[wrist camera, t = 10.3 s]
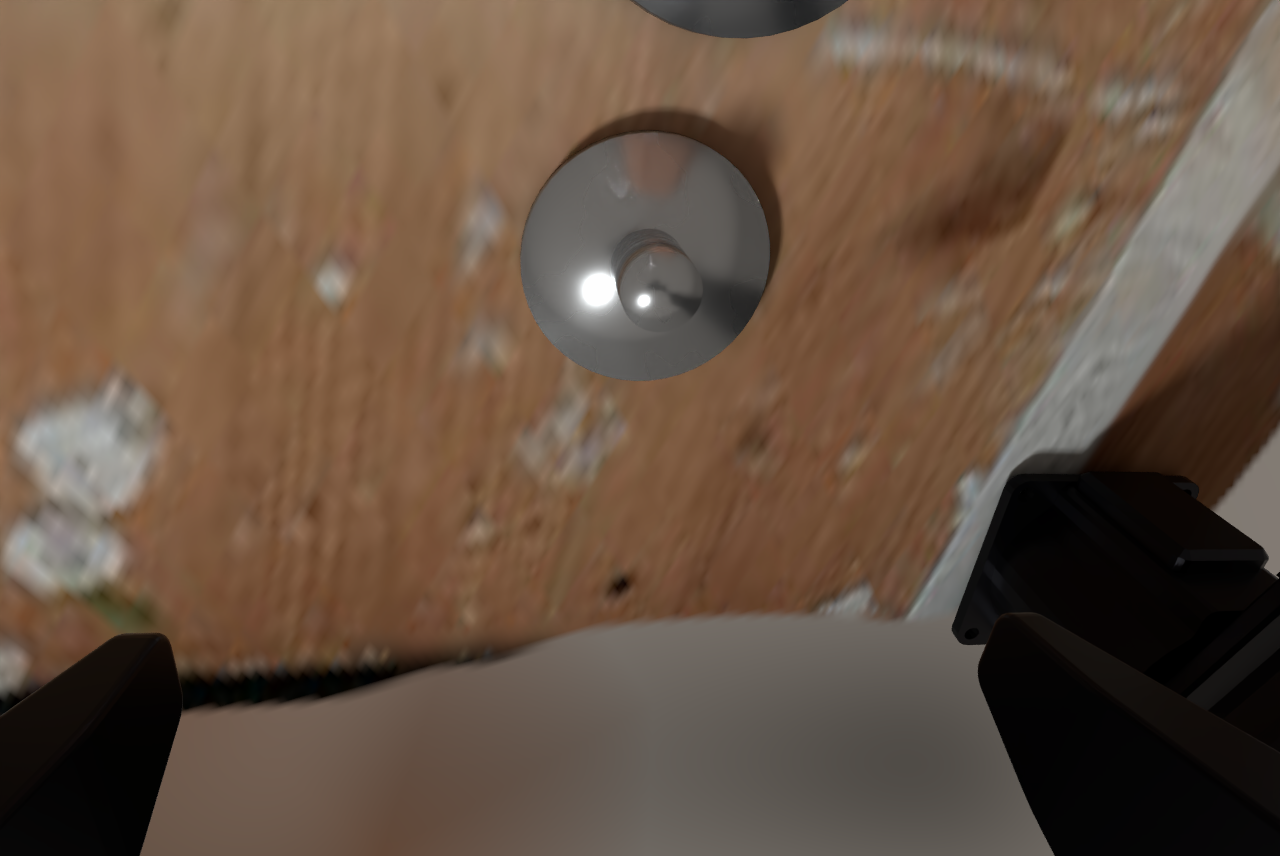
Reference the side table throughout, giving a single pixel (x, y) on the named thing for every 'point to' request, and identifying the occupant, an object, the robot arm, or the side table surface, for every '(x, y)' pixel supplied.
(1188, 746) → the robot arm
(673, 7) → the hub
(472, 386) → the side table surface
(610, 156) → the metal knobbed lid
